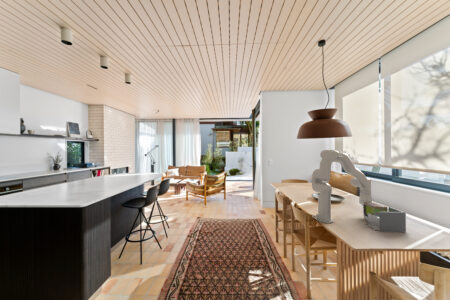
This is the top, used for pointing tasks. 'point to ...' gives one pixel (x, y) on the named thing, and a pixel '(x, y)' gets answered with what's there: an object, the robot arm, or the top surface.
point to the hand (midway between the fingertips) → (365, 213)
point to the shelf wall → (392, 220)
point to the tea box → (373, 209)
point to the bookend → (373, 222)
